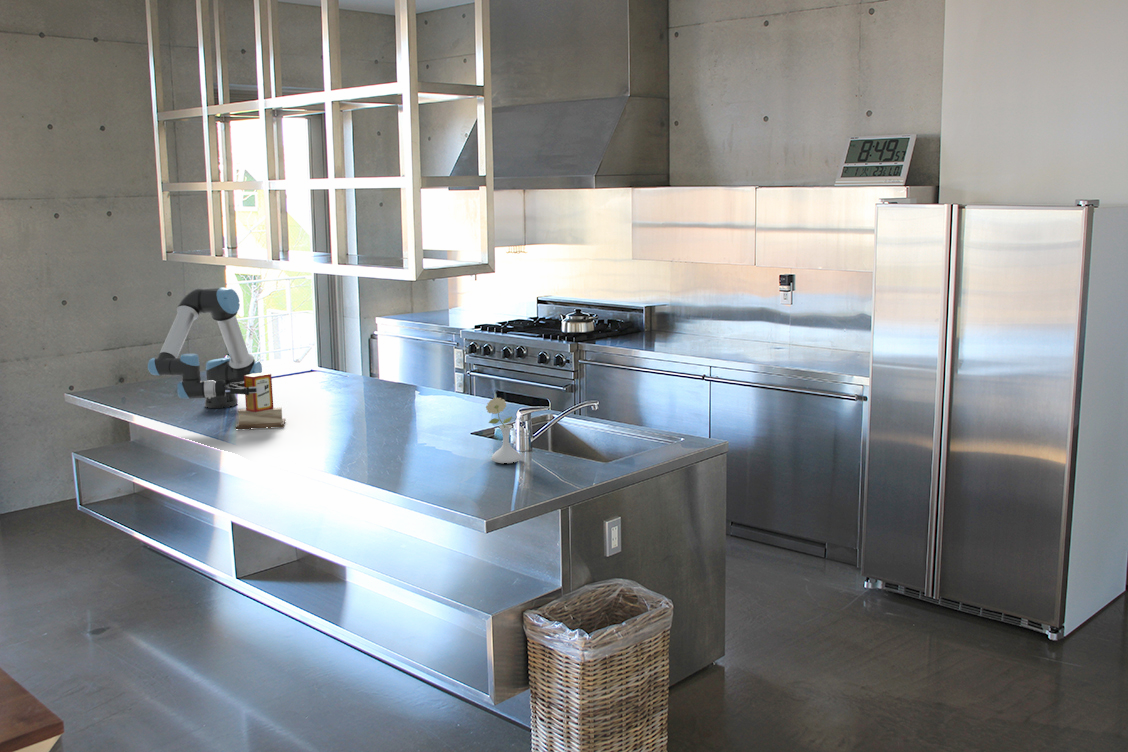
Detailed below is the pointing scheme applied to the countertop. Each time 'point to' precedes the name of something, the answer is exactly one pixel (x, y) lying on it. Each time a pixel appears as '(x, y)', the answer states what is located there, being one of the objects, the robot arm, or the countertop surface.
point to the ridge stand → (260, 419)
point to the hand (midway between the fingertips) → (266, 386)
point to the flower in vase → (506, 451)
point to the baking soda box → (259, 400)
